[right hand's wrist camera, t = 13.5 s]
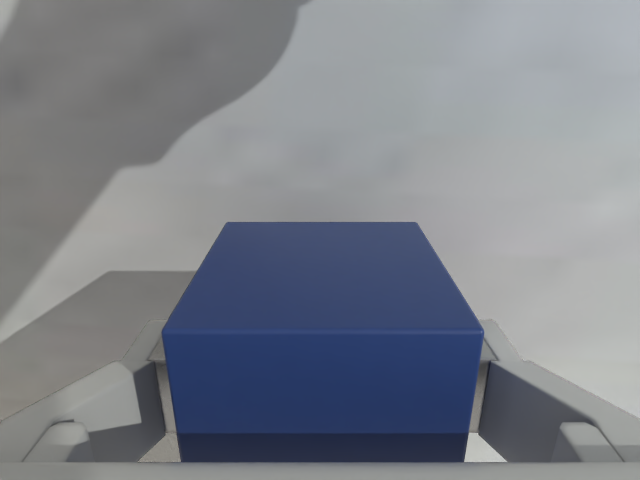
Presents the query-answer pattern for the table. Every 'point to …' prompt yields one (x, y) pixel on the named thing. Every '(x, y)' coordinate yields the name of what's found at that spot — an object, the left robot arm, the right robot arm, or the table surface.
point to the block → (322, 348)
